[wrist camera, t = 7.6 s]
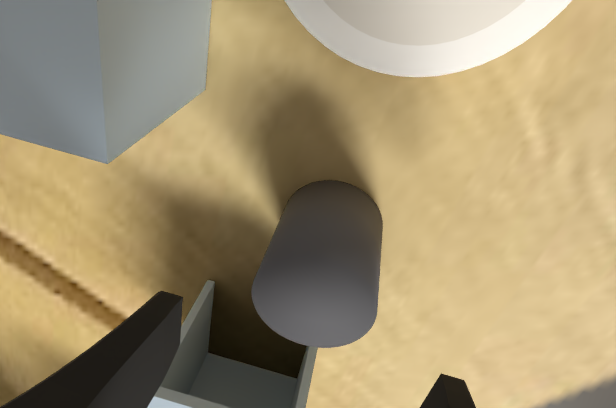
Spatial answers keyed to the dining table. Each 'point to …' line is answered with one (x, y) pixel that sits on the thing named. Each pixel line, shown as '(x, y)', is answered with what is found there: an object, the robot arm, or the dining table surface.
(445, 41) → the dish
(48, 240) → the dining table surface
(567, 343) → the dining table surface
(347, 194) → the dark grey cylinder
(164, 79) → the cover
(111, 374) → the robot arm
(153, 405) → the cover
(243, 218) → the dining table surface
